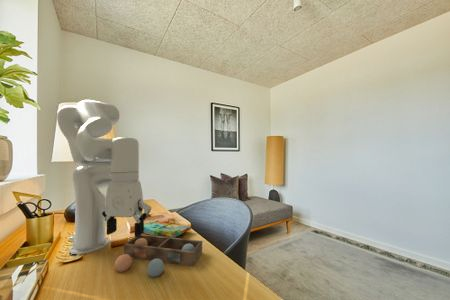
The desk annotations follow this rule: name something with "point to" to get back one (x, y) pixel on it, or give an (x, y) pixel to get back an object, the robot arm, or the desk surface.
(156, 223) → the puzzle game
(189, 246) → the blue-grey ball
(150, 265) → the slate ball
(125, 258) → the terracotta ball
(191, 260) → the divided wooden box
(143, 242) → the tan rounded piece
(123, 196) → the robot arm
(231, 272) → the desk surface
